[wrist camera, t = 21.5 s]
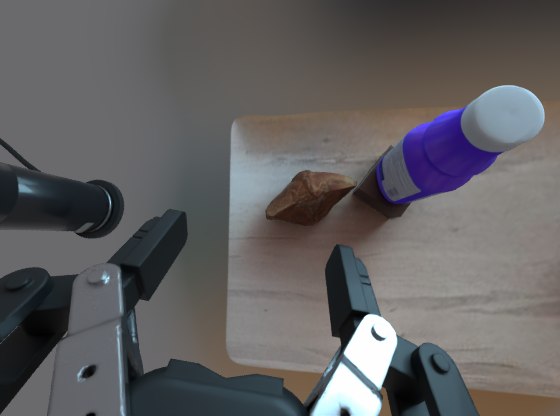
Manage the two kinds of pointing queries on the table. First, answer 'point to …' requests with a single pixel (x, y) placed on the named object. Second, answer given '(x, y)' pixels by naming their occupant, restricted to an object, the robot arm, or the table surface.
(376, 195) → the walnut block
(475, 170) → the bottle
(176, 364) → the robot arm
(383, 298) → the table surface
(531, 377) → the table surface
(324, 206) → the fossil
